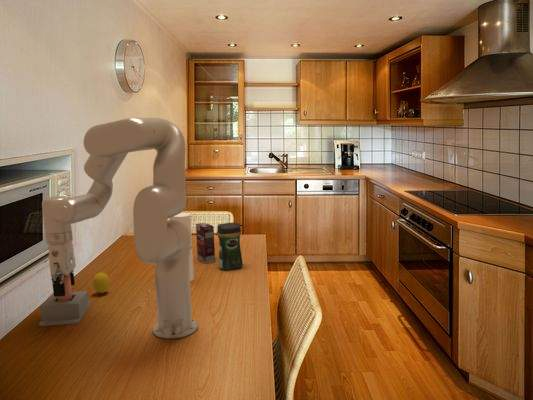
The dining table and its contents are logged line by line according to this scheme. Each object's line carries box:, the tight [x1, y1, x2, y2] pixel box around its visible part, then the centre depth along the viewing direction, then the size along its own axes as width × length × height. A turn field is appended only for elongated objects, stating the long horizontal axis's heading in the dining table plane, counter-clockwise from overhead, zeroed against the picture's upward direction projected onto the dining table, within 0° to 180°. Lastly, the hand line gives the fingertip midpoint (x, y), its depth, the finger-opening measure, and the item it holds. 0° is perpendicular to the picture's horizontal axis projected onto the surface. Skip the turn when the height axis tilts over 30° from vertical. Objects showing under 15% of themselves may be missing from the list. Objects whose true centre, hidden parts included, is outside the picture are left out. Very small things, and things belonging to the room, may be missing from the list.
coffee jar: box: [216, 221, 244, 271], centre depth 189 cm, size 10×8×19 cm
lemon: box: [92, 271, 110, 295], centre depth 163 cm, size 6×6×8 cm
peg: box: [58, 274, 73, 302], centre depth 145 cm, size 4×4×12 cm
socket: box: [38, 290, 92, 327], centre depth 146 cm, size 16×11×5 cm
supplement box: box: [195, 222, 216, 264], centre depth 200 cm, size 9×5×16 cm, turn 33°
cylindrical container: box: [170, 212, 195, 282], centre depth 174 cm, size 7×7×25 cm
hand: (64, 290), depth 145 cm, fingers open, 9 cm apart
